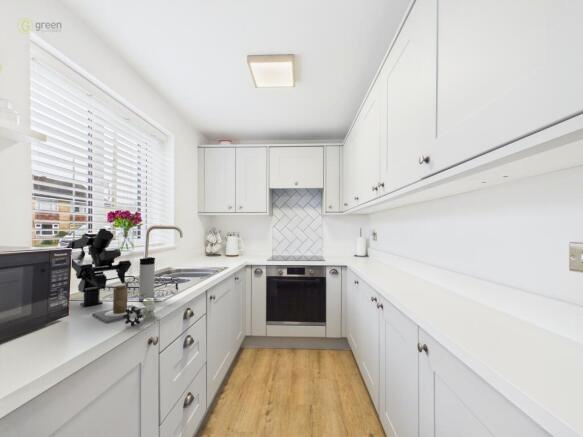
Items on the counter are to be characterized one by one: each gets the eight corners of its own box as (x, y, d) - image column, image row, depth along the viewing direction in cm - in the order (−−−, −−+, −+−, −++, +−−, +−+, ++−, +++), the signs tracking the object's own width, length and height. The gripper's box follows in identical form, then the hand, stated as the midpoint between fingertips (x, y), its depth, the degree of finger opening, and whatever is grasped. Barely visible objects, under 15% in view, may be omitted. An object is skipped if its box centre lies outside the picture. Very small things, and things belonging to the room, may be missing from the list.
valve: (143, 314, 105) (122, 326, 93) (143, 297, 105) (123, 306, 93) (159, 315, 104) (141, 326, 92) (160, 298, 105) (141, 307, 93)
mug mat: (92, 315, 103) (92, 312, 103) (131, 306, 115) (131, 304, 115) (106, 323, 95) (106, 320, 95) (147, 313, 106) (147, 310, 106)
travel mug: (142, 302, 121) (143, 258, 122) (136, 300, 125) (137, 256, 126) (156, 299, 126) (157, 256, 126) (150, 297, 130) (151, 255, 131)
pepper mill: (110, 313, 103) (110, 287, 103) (120, 309, 108) (120, 284, 108) (120, 314, 102) (120, 287, 102) (129, 310, 107) (130, 285, 107)
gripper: (79, 244, 105) (91, 275, 98) (129, 242, 120) (142, 269, 114) (70, 262, 108) (81, 294, 102) (120, 258, 124) (132, 285, 118)
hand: (111, 284), depth 109 cm, fingers open, 9 cm apart
